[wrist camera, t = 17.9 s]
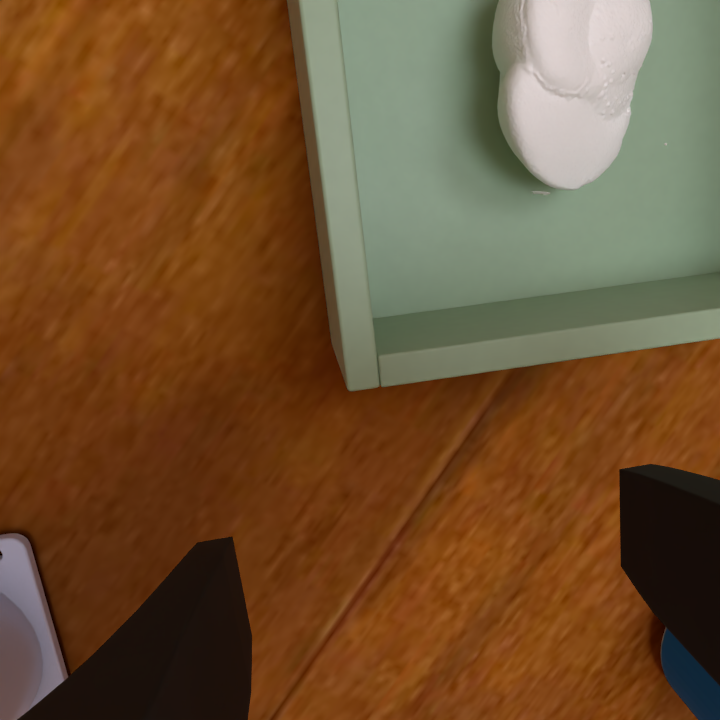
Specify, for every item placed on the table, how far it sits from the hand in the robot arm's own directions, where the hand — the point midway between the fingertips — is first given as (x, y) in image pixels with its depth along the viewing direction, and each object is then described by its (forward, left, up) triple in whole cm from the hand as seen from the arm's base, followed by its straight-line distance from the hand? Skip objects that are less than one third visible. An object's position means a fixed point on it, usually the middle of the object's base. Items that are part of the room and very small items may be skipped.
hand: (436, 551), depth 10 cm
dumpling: (+6, +9, -9) cm, 14 cm away
